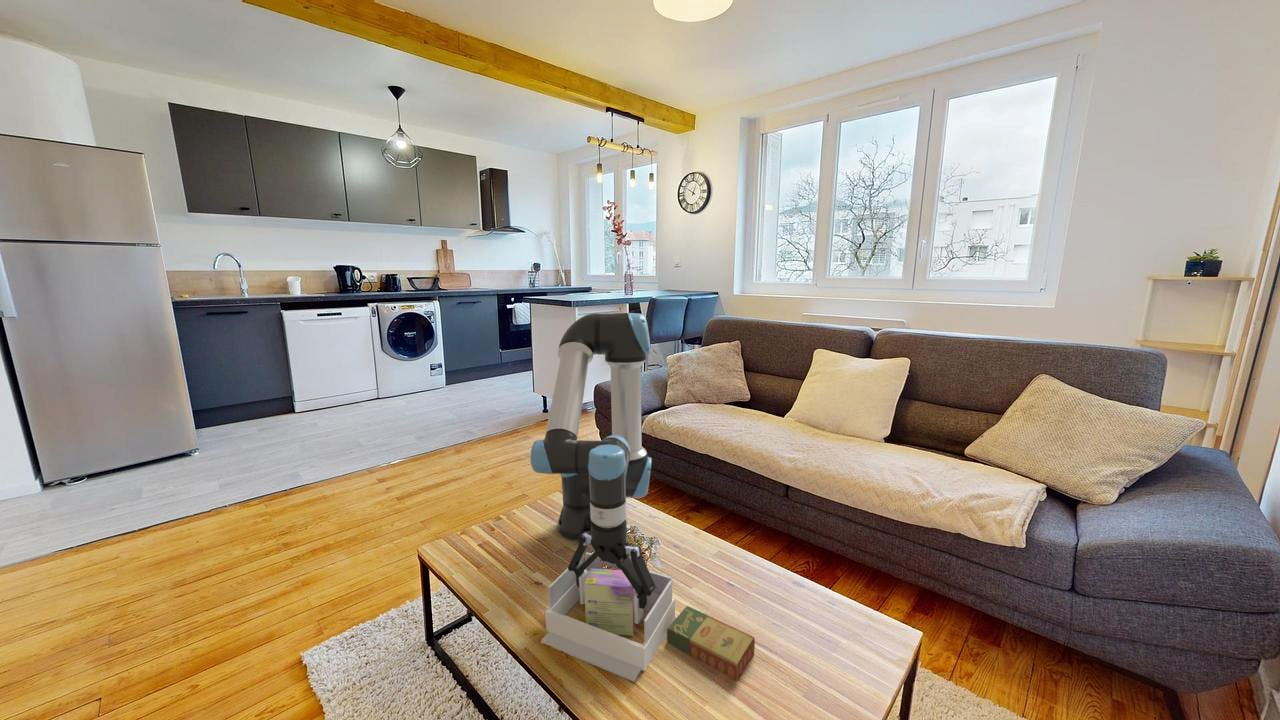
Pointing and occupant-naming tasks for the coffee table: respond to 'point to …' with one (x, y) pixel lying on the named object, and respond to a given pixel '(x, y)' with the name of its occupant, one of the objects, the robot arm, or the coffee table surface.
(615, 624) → the box
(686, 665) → the coffee table surface
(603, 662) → the open crate
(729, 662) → the carton
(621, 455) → the robot arm
